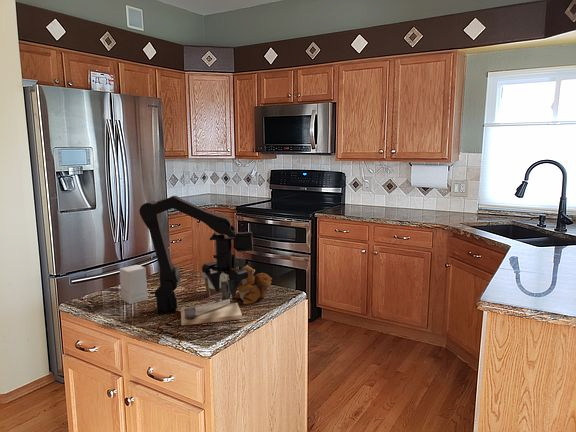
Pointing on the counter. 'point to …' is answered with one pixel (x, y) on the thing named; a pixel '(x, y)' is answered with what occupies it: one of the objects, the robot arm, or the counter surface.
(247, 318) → the counter surface
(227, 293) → the lever
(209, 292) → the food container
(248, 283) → the stuffed squirrel
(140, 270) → the supplement box
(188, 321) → the base board
